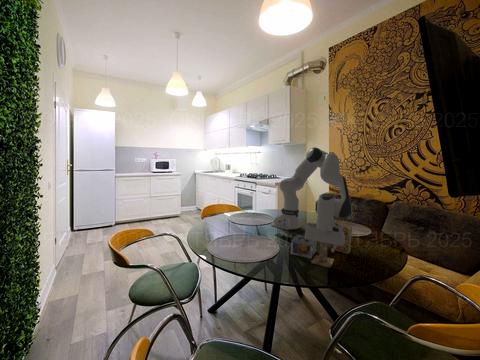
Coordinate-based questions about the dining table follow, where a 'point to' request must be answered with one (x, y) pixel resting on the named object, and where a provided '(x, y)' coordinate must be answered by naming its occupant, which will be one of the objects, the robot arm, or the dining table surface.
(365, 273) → the dining table surface
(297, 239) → the guard box
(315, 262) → the cork pad
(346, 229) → the candy box
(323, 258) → the beige square bar
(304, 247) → the glossy orange ball
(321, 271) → the dining table surface
